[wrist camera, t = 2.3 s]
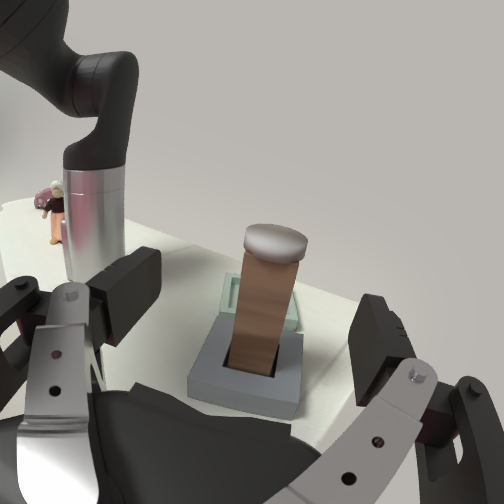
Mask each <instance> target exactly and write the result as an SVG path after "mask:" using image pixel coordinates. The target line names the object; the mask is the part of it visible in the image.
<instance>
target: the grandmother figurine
mask: <svg viewBox="0 0 504 504" xmlns="http://www.w3.org/2000/svg"><path fill="white" fill-rule="evenodd" d="M51 192H52V195H53V197H54V198H51V199H50V200H49V201H48V203H47V204H46V206H45V208H44V212H43V215H42V217H43V218H44V219H45V218H46V217H47V214H48V211H50V210H52V212H51V236H52V239H51V240H50V244H56V243H58V241H59V240H61V242H62V236H61V227H60V223H61V221H62V220H63V219H65V211H64V197H61V196H62V195H63V193H64V190H63V182H62V181H59V180H56V181H53V182H52V184H51Z"/></svg>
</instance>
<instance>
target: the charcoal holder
mask: <svg viewBox="0 0 504 504" xmlns="http://www.w3.org/2000/svg"><path fill="white" fill-rule="evenodd" d="M233 327H234V319H230V318H226V317H221V316H217V318H216V320H215V322H214V324H213V326H212V328H211V330H210V332H209V334H208V336H207V338H206V340H205V342H204V344H203V347H202V349H201V351H200V353H199V355H198V357H197V359H196V361H195V363H194V365H193V367H192V369H191V371H190V373H189V375H188V378H187V384H188V397H191V398H194V399H197V400H201V401H204V402H208V403H212V404H215V405H219V406H223V407H227V408H231V409H235V410H239V411H244V412H248V413H253V414H258V415H263V416H268V417H273V418H279V419H285V420H291V419H292V417H293V415H294V413H295V411H296V409H297V407H298V405H299V399H300V386H301V371H302V354H303V334H300V333H294V332H289V331H284V330H282V333H281V336H280V340H279V344H278V347H277V351H276V354H275V358H274V361H273V365H272V368H271V371H270V375H269V377H265V376H261V375H256V374H251V373H247V372H243V371H238V370H234V369H230V368H228V362H229V355H230V348H231V341H232V334H233Z"/></svg>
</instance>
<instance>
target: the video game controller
mask: <svg viewBox="0 0 504 504" xmlns="http://www.w3.org/2000/svg"><path fill="white" fill-rule="evenodd" d="M61 197H64V193H63V195H62V196H61ZM51 198H54V197H53V195H52V192H51V188H47V189H45V190H43V191H39V192H38V193H37V194H36V196H35V200H34V205H35V207H36V208H37V207H38V205H41V207H42V208H45V206H46V204H47V203H48V201H47V200H48V199H51Z"/></svg>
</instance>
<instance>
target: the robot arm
mask: <svg viewBox="0 0 504 504" xmlns="http://www.w3.org/2000/svg"><path fill="white" fill-rule="evenodd" d="M68 9H69V0H0V70H1V71H3V72H5V73H6V74H8V75H10V76H12V77H13V78H15V79H17V80H18V81H21V82H22V83H24V84H26V85H28V86H30V87H32V88H33V89H35V90H36V91H37V92H39V93H40V94H41V95H42V96H43V97H45V98H46V99H47V100H48V101H49V102H50V103H52V104H53V105H54V106H55V107H56V108H57V109H59V110H60V111H61V112H63V113H64V114H66V115H68V116H71V117H76V118H82V117H98V121H97V124H96V127H95V129H94V130H93V131H92V132H91V133H90V134H89V135H88V136H87V137H85V138H83V139H82V140H80V141H78V142H76V143H73V144H71V145H69V146H68V147H67V148H66V149H65V151H64V155H63V190H64V211H65V219H63V220H62V221H61V223H60V227H61V236H62V245H63V252H64V259H65V266H66V272H67V278H68V280H72V281H73V282H68V283H64V284H61V285H59V286H58V287H56V288H55V289H54V290H53V292H46V291H40V290H39V286H38V281H37V279H36V278H35V277H32V276H21V277H18V278H15V279H13V280H12V281H10V282H9V283H7V284H6V285H5V286H3V287H2V288H0V336H1V334H2V333H3V332H4V331H5V330H6V329H7V328H8V327H9V326H10V325H12V324H13V323H14V322H15V321H16V322H17V325H18V328H19V331H20V333H21V335H20V336H19V337H18V338H17V339H16V340H15V341H14V342H13V343H12V344H11V345H10V346H9V347H8V348H7V349H6V350H5V351H4V352H3V351H2V349H1V347H0V412H1V411H2V410H3V408H4V407H5V406H6V404H7V403H8V402H9V401H10V399H11V398H12V397H13V396H14V394H15V393H16V392H17V391H18V389H19V388H20V387H21V386H22V384H23V383H24V382H25V381H26V380H27V385H26V397H25V413H24V414H23V415H18V416H15V417H11V418H6V419H2V420H0V504H374V503H375V502H376V500H377V499H378V498H379V496H380V495H381V493H382V492H383V491H384V489H385V488H386V486H387V485H388V484H389V482H390V480H391V479H392V478H393V476H394V475H395V473H396V472H397V470H398V468H399V467H400V465H401V464H402V462H403V460H404V459H405V457H406V455H407V454H408V452H409V450H410V449H411V447H412V445H413V443H414V442H415V448H416V457H417V466H418V476H419V491H420V504H504V431H503V428H502V426H501V423H500V420H499V418H498V415H497V412H496V410H495V407H494V404H493V402H492V400H491V397H490V395H489V393H488V391H487V389H486V387H485V385H484V384H483V383H482V382H480V381H479V380H478V379H476V378H474V377H471V376H464V377H462V378H461V379H460V380H459V381H458V383H457V384H456V385H455V386H451V385H448V384H445V383H442V382H439V381H438V378H437V374H436V372H435V371H434V369H433V368H432V367H431V366H430V365H429V364H428V363H426V362H424V361H422V360H420V359H417V357H416V355H415V352H414V350H413V347H412V345H411V342H410V340H409V338H408V337H407V333H406V331H405V330H404V326H403V324H402V321H401V319H400V318H399V317H398V316H397V315H396V314H395V313H394V312H393V311H389V309H388V306H387V304H386V302H385V299H384V297H382V296H376V295H371V294H364V295H363V297H362V298H361V301H360V304H359V306H358V309H357V311H356V314H355V317H354V319H353V322H352V324H351V327H350V330H349V335H348V344H349V351H350V358H351V365H352V372H353V380H354V388H355V397H356V406H362V407H366V408H365V409H364V410H363V411H362V413H361V414H360V415H359V416H358V417H357V418H356V419H355V421H354V422H353V423H352V424H351V425H350V426H349V427H348V428H347V430H346V431H345V432H344V433H343V434H342V435H341V436H340V437H339V438H338V439H337V440H336V441H335V442H334V443H333V444H332V446H330V447H329V448H328V449H327V450H326V451H325V452H324V453H323V454H320V453H319V452H318V451H317V450H316V449H314V448H313V447H312V446H310V445H308V444H307V443H305V442H303V441H301V440H299V439H297V438H295V437H293V436H290V433H291V424H285V423H279V422H274V421H268V420H263V419H258V418H253V417H225V416H210V415H205V414H203V413H201V412H199V411H197V410H196V409H194V408H192V407H190V406H188V405H187V404H185V403H183V402H181V401H180V400H178V399H176V398H175V397H173V396H171V395H169V394H166V393H163V392H160V391H158V390H155V389H152V388H150V387H147V386H144V385H142V384H139V383H137V382H135V384H134V386H133V387H132V389H131V390H130V392H129V391H119V390H111V391H107V389H106V382H105V374H104V366H103V356H102V350H101V346H102V345H103V343H106V344H109V345H111V346H114V347H116V346H117V345H118V344H119V343H120V342H121V340H122V339H123V338H124V337H125V336H126V334H127V333H128V332H129V331H130V330H131V329H132V327H133V326H134V325H135V324H136V323H137V322H138V320H139V319H140V318H141V317H142V316H143V315H144V313H145V312H146V311H147V310H148V309H149V308H150V307H151V305H152V304H153V303H154V302H155V301H156V300H157V298H158V297H159V294H160V291H161V252H160V250H157V249H153V248H148V247H144V246H142V247H140V248H139V249H137V250H136V251H134V252H133V253H132V254H130V255H127V256H125V234H124V181H125V161H126V151H127V146H128V141H129V134H130V125H131V119H132V112H133V107H134V102H135V97H136V92H137V86H138V78H139V66H138V62H137V59H136V57H135V55H133V54H132V53H131V52H127V51H120V52H109V53H101V54H94V55H87V56H84V55H79V54H77V53H75V52H74V51H72V50H71V49H70V48H69V47H68V46H67V45H66V43H65V42H64V40H63V38H64V32H65V27H66V22H67V17H68ZM458 434H459V435H460V439H461V443H462V447H463V456H462V459H461V461H460V462H459V464H458V463H457V458H456V453H455V448H454V443H453V439H455V437H457V435H458Z"/></svg>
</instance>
